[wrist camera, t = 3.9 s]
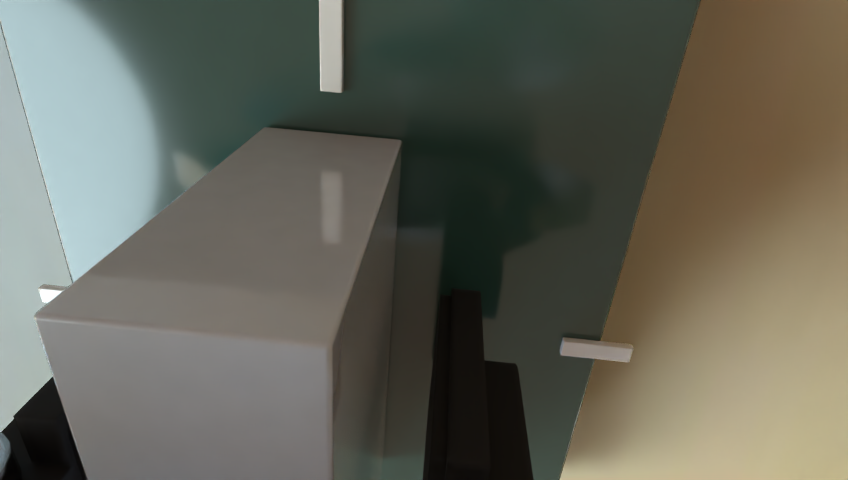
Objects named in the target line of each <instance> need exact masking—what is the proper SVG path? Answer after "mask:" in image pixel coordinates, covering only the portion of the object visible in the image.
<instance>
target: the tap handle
mask: <svg viewBox="0 0 848 480" xmlns="http://www.w3.org/2000/svg"><path fill="white" fill-rule="evenodd" d="M401 151H402V142H401V140H396V139H386V138H375V137H364V136H354V135H343V134H333V133H322V132H311V131H301V130H290V129H280V128H269V127H264V128H262V129H261V130H260V131H259V132H257V133H256V134H255V135H254V136H252V137H251V138H250V139H249V140H247V141H246V142H245V143H244V144H243V145H241V146H240V147H239V148H238V149H236V150H235V151H234V152H233V153H231V154H230V155H229V156H228V157H227V158H225V159H224V160H223V161H222V162H220V163H219V164H218V165H217V166H216V167H214V168H213V169H212V170H211V171H209V172H208V173H207V174H206V175H204V176H203V177H202V178H201V179H200V180H198V181H197V182H196V183H195V184H193V185H192V186H191V187H190V188H189V189H187V190H186V191H185V192H184V193H182V194H181V195H180V196H179V197H177V198H176V199H175V200H174V201H173V202H171V203H170V204H169V205H168V206H166V207H165V208H164V209H163V210H161V211H160V212H159V213H158V214H157V215H155V216H154V217H153V218H152V219H150V220H149V221H148V222H147V223H146V224H144V225H143V226H142V227H141V228H139V229H138V230H137V231H136V232H134V233H133V234H132V235H131V236H130V237H128V238H127V239H126V240H125V241H123V242H122V243H121V244H120V245H118V246H117V247H116V248H115V249H114V250H112V251H111V252H110V253H109V254H107V255H106V256H105V257H104V258H103V259H101V260H100V261H99V262H98V263H96V264H95V265H94V266H93V267H91V268H90V269H89V270H88V271H87V272H85V273H84V274H83V275H82V276H80V277H79V278H78V279H77V280H76V281H74V282H73V283H72V284H71V285H69V286H68V287H67V288H66V289H64V290H63V291H62V292H61V293H60V294H58V295H57V296H56V297H55V298H53V299H52V300H51V301H50V302H48V303H47V304H46V305H45V306H44V307H42V308H41V309H40V310H39V311H37V312H36V313H35V315H34V321H35V324H36V327H37V330H38V333H39V336H40V339H41V342H42V345H43V348H44V351H45V354H46V357H47V360H48V363H49V366H50V369H51V372H52V375H53V378H54V381H55V385H56V388H57V391H58V394H59V397H60V400H61V403H62V406H63V409H64V412H65V415H66V418H67V421H68V424H69V427H70V430H71V433H72V436H73V439H74V442H75V445H76V448H77V451H78V454H79V457H80V460H81V463H82V466H83V469H84V472H85V475H86V478H87V480H380V478H381V472H382V465H383V455H384V438H385V421H386V404H387V387H388V370H389V354H390V337H391V320H392V303H393V286H394V269H395V252H396V235H397V218H398V202H399V185H400V168H401Z"/></svg>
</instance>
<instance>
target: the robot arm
mask: <svg viewBox="0 0 848 480" xmlns="http://www.w3.org/2000/svg"><path fill="white" fill-rule="evenodd" d="M0 480H87V478H86V475H85V472H84V469H83V466H82V463H81V460H80V457H79V454H78V451H77V448H76V445H75V442H74V439H73V436H72V433H71V430H70V427H69V424H68V421H67V418H66V415H65V412H64V409H63V406H62V403H61V400H60V397H59V394H58V391H57V388H56V385H55V381H54V378H53V377H52V378H51V379H50V380H49V381H48V382H47V383H46V384H45V385H44V386H43V387H42V388H41V389H40V390H39V391H38V392H37V393H36V394H35V395H34V396H33V397H32V398H31V399H30V400H29V401H28V402H27V403H26V404H25V405H24V406H23V407H22V408H21V409H20V410H19V411H18V412H17V413H16V414H15V415H14V420H13V421H12V422H11V423H10V424H9V425H8V426H7V427H6V428H5V429H4V430H3V431H2V432H0ZM423 480H534V479H533V472H532V465H531V457H530V450H529V443H528V436H527V429H526V422H525V414H524V407H523V400H522V393H521V386H520V378H519V372H518V367H517V365H516V363H506V362H497V361H487V360H485V359H484V341H483V324H482V306H481V292H480V291H475V290H465V289H455V288H452V292H451V296H450V295H440V303H439V312H438V321H437V331H436V340H435V349H434V358H433V367H432V376H431V385H430V394H429V404H428V415H427V428H426V441H425V454H424V467H423Z"/></svg>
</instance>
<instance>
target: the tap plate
mask: <svg viewBox="0 0 848 480" xmlns="http://www.w3.org/2000/svg"><path fill="white" fill-rule="evenodd" d="M700 1H701V0H0V26H1V29H2V33H3V36H4V40H5V43H6V47H7V51H8V54H9V58H10V61H11V65H12V69H13V72H14V76H15V79H16V83H17V87H18V90H19V94H20V97H21V101H22V104H23V108H24V112H25V115H26V119H27V122H28V126H29V130H30V133H31V137H32V140H33V144H34V148H35V151H36V155H37V158H38V162H39V165H40V169H41V173H42V176H43V180H44V183H45V187H46V191H47V194H48V198H49V201H50V205H51V209H52V212H53V216H54V219H55V223H56V226H57V230H58V234H59V237H60V241H61V244H62V248H63V252H64V255H65V259H66V262H67V266H68V270H69V273H70V277H71V280H72V283H73V282H74V281H76V280H77V279H78V278H79V277H80V276H82V275H83V274H84V273H85V272H87V271H88V270H89V269H90V268H91V267H93V266H94V265H95V264H96V263H98V262H99V261H100V260H101V259H103V258H104V257H105V256H106V255H107V254H109V253H110V252H111V251H112V250H114V249H115V248H116V247H117V246H118V245H120V244H121V243H122V242H123V241H125V240H126V239H127V238H128V237H130V236H131V235H132V234H133V233H134V232H136V231H137V230H138V229H139V228H141V227H142V226H143V225H144V224H146V223H147V222H148V221H149V220H150V219H152V218H153V217H154V216H155V215H157V214H158V213H159V212H160V211H161V210H163V209H164V208H165V207H166V206H168V205H169V204H170V203H171V202H173V201H174V200H175V199H176V198H177V197H179V196H180V195H181V194H182V193H184V192H185V191H186V190H187V189H189V188H190V187H191V186H192V185H193V184H195V183H196V182H197V181H198V180H200V179H201V178H202V177H203V176H204V175H206V174H207V173H208V172H209V171H211V170H212V169H213V168H214V167H216V166H217V165H218V164H219V163H220V162H222V161H223V160H224V159H225V158H227V157H228V156H229V155H230V154H231V153H233V152H234V151H235V150H236V149H238V148H239V147H240V146H241V145H243V144H244V143H245V142H246V141H247V140H249V139H250V138H251V137H252V136H254V135H255V134H256V133H257V132H259V131H260V130H261V129H262V128H264V127H269V128H280V129H290V130H301V131H311V132H322V133H333V134H343V135H354V136H364V137H375V138H386V139H396V140H401V142H402V151H401V168H400V185H399V202H398V218H397V235H396V252H395V269H394V286H393V303H392V320H391V337H390V354H389V370H388V387H387V404H386V421H385V438H384V455H383V465H382V472H381V478H380V480H423V467H424V454H425V441H426V428H427V415H428V404H429V394H430V385H431V376H432V367H433V358H434V349H435V340H436V331H437V321H438V312H439V303H440V295H450V296H451V292H452V288H455V289H465V290H475V291H480V292H481V306H482V324H483V341H484V359H485V360H487V361H497V362H506V363H516V365H517V367H518V372H519V378H520V386H521V393H522V400H523V407H524V414H525V422H526V429H527V436H528V443H529V450H530V457H531V465H532V472H533V479H534V480H560V477H561V473H562V470H563V466H564V463H565V460H566V456H567V453H568V449H569V446H570V443H571V439H572V436H573V432H574V429H575V426H576V422H577V419H578V415H579V412H580V409H581V405H582V402H583V398H584V395H585V392H586V388H587V385H588V381H589V378H590V375H591V371H592V368H593V364H594V361H595V359H602V360H612V361H622V362H629V361H630V358H631V355H632V352H633V346H632V344H625V343H615V342H606V341H601V337H602V334H603V331H604V327H605V324H606V320H607V317H608V314H609V310H610V307H611V303H612V300H613V297H614V293H615V290H616V286H617V283H618V280H619V276H620V273H621V269H622V266H623V263H624V259H625V256H626V252H627V249H628V246H629V242H630V239H631V235H632V232H633V229H634V225H635V222H636V218H637V215H638V212H639V208H640V205H641V201H642V198H643V195H644V191H645V188H646V184H647V181H648V178H649V174H650V171H651V168H652V164H653V161H654V157H655V154H656V151H657V147H658V144H659V140H660V137H661V134H662V130H663V127H664V123H665V120H666V117H667V113H668V110H669V106H670V103H671V100H672V96H673V93H674V89H675V86H676V83H677V79H678V76H679V72H680V69H681V66H682V62H683V59H684V55H685V52H686V49H687V45H688V42H689V38H690V35H691V32H692V28H693V25H694V21H695V18H696V15H697V11H698V8H699V5H700ZM66 288H67V287H64V286H54V285H42V286H40V287H39V288H38V290H39V293H40V296H41V299H42V302H45V303H48V302H50V301H51V300H52V299H53V298H55V297H56V296H57V295H58V294H60V293H61V292H62V291H63V290H64V289H66Z"/></svg>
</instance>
